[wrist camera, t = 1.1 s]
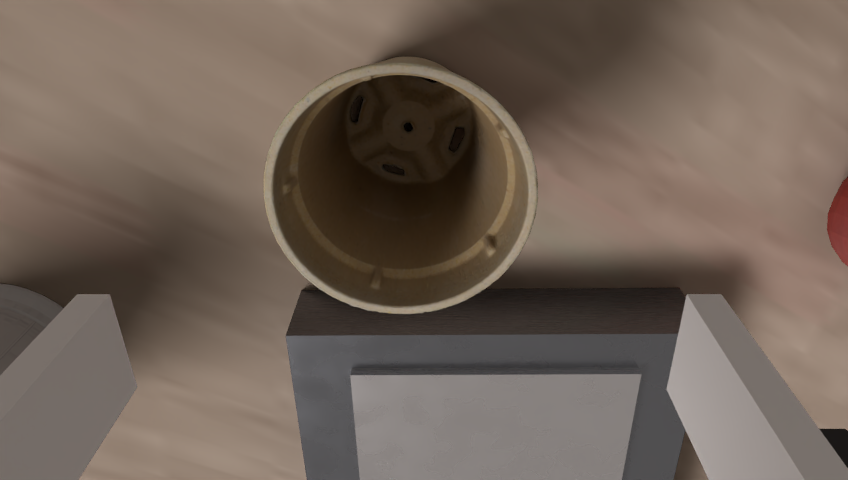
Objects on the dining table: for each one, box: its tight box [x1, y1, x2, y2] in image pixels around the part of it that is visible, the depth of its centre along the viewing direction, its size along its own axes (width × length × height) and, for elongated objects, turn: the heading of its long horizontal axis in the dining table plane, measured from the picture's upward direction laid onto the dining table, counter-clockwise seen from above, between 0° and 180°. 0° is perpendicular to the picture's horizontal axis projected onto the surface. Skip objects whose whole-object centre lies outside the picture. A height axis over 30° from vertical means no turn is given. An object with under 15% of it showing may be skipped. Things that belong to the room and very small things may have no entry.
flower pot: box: [264, 57, 538, 314], centre depth 25 cm, size 9×9×9 cm
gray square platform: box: [286, 288, 686, 480], centre depth 35 cm, size 20×18×4 cm
